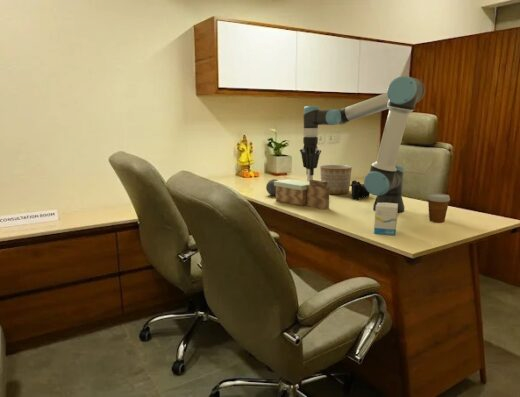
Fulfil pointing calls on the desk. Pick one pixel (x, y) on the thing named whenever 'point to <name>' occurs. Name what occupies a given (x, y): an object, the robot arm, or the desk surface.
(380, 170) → the robot arm
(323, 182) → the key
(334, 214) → the desk surface
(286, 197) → the brown zigzag organizer box
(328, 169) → the planter
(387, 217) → the ink box
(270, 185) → the decorative ball
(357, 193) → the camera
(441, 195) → the disposable coffee cup
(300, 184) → the lid
